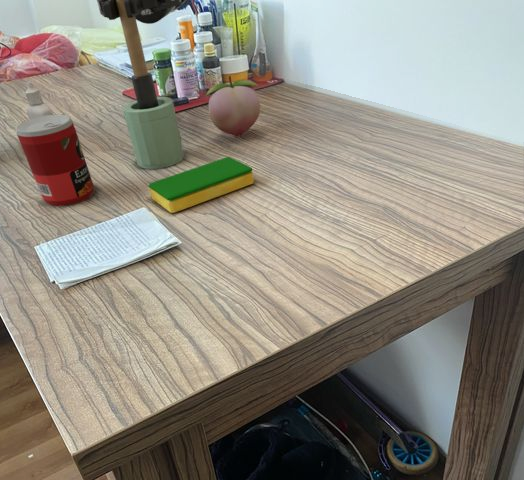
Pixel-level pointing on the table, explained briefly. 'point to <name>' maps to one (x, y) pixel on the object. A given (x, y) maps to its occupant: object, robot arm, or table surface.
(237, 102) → the decorative fruit
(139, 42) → the brush
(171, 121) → the jar
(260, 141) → the table surface
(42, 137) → the canned food
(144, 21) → the robot arm
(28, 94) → the eye dropper bottle
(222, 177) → the dish sponge
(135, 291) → the table surface
